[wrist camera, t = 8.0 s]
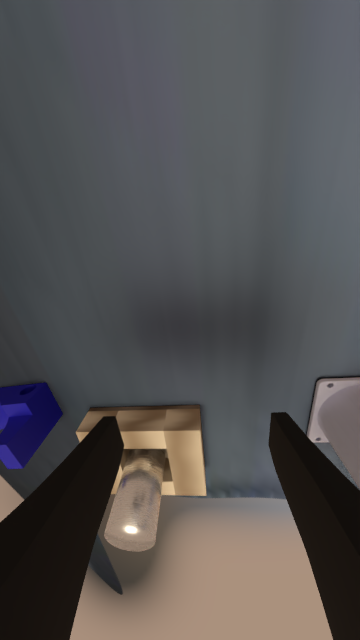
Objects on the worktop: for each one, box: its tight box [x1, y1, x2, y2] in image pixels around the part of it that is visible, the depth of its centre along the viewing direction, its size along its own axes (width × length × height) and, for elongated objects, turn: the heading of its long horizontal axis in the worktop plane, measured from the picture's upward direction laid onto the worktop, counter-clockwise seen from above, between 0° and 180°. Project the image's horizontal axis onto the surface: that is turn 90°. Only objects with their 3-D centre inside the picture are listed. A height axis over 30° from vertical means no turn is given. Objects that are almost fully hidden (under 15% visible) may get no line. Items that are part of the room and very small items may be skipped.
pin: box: [104, 449, 167, 551], centre depth 20 cm, size 4×4×8 cm
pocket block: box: [76, 405, 206, 496], centre depth 22 cm, size 12×10×3 cm
